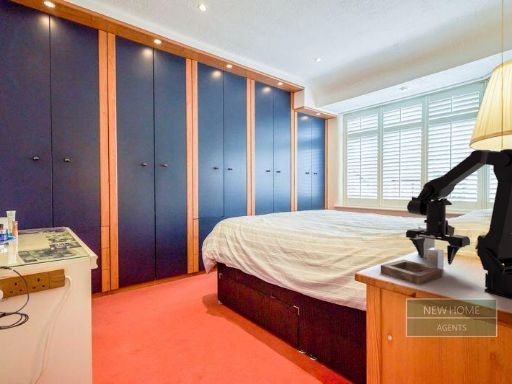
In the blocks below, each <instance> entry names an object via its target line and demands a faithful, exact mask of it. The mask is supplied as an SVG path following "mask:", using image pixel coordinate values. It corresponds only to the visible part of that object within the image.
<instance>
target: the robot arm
mask: <svg viewBox="0 0 512 384" xmlns="http://www.w3.org/2000/svg"><path fill="white" fill-rule="evenodd" d="M486 165H487V166H492V171H493V172H492V173H493V174H494V176H495V178H496V180H497V184H496V189H495V190H496V191H495V197H494V200H493V206H492V212H491V218H490V224H489V228H488V231H487V233H486V234H484V235H483V234H482V235H478V237H477V242H476V243H477V244H476V246H475V250H476V254H477V257H478V258H479V259H480V263H481V265H482V269H483V270H484V271H487V272H486V273H484V275H485V276H484V287H485V288H484V289H483V290H484V292H487V293H490V294H494V295H497V296H500V297H505V298H508V299H511V300H512V148H503V149H502V150H500V151H499V150H490V149H475V150H473V151H471V152H470V154H469V155H468V156H466V157H465V158H464V159H463V160H462V161H460V162H459V163H457V164H456V165H455V166H454V167H452V168H451V169H450V170H448V171H447V172H446V173H444V174H443V175H441V176H439V177H436V178H433V179H431V180H429V181H428V182H426V183H424V184H423V187H422V190H421V191H420V193H419V194H418V196H412V197H411V200H409V201H408V203H407V206H406V210H407V212H408V213H409V214H411V215H418V216H424V217H425V216H426V217H425V218H426V219H424V221H423V223H424V224H426V225H425V226H426V231H424V230H420V229H418V228H411V229H407V230H406V232H405V237H406V238H409V241H411V242H412V244H413V245H414V247H415V250H416V251H417V254H418V253H419V254H418V255H419V256H420V258H421V259H424V241H425V238H429V239H435V241H436V240H437V241H443V242H447V243H448V245H447V246H446V253H447V255H446V256H447V263H448V264H447V265H450V266H451V265H452V264H453V261H454V259H455V257H456V254H457V253H458V251H459V250H460V249H462V248H465V247H467V246H470V245H471V239H470V237H469V236H468V235H462V234H461V235H459V234H455V230H456V227H455V226H452V225H449V221H448V220H447V218H446V217H447V210H446V209H447V206H452V205H453V203H452V202H451V201H450V200H448V199H447V197H448V196H450V195H451V194H452V192H453V191H454V189H455V187H456V186H457V185H458V184H459V183H461V182H463V180H466V178H468V177H470V175H472V174H473V173H475V172H477V171H478V170H479V169H481V168H482V167H484V166H486ZM430 235H432V236H430ZM433 236H434V237H433ZM422 237H424V238H422Z"/></svg>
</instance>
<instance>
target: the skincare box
mask: <svg viewBox="0 0 512 384" xmlns="http://www.w3.org/2000/svg"><path fill="white" fill-rule="evenodd" d="M417 229H420V230H424V231H426V225H424V226H420V225H419V226H418V228H417ZM430 236H432V235H430ZM433 237H434V236H433ZM422 238H424V237H422ZM435 242H436V240H435V239H429V238H425V241H424V258H425V259H427V249H429V248H436V247H435V246H436V245H435V244H436V243H435ZM417 254H418V255H419V253H418V252H417ZM424 258H423V259H424Z"/></svg>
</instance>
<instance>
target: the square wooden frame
mask: <svg viewBox="0 0 512 384" xmlns="http://www.w3.org/2000/svg"><path fill="white" fill-rule="evenodd" d="M380 273H381V274H385V275H387V276H391V277H395V278H397V279H400V280H403V281H406V282H410V283H413V284H416V285H421V284H425V283H428V282H431V281H433V280H436V279H439V278H442V277H443V270H442V269H439V268H436V267H432V266H428V265H427V264H423V263H420V262H415V261H413V260H412V261H411V260H408V259H400V260H396V261H392V262H388V263H384V264H380Z"/></svg>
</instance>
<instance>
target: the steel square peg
mask: <svg viewBox="0 0 512 384" xmlns="http://www.w3.org/2000/svg"><path fill="white" fill-rule="evenodd" d="M444 251H445V250H444V249H442V248H441V249H440V248H436V247H435V248H429V249H427V258H426V265H428V266H432V267H436V268H439V269H442V271H443V270H444V268H445V267H444V260H445V259H444Z"/></svg>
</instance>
